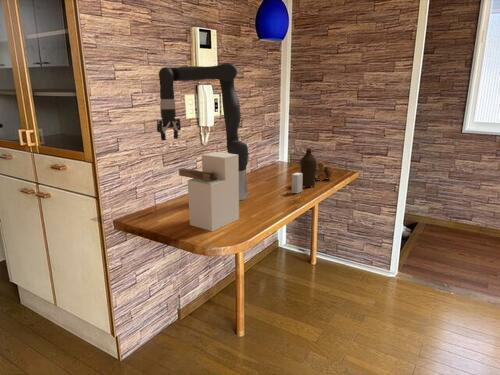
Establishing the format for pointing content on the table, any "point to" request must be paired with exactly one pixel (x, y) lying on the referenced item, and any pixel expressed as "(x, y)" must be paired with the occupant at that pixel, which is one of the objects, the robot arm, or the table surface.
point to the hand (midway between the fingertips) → (169, 139)
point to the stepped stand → (215, 192)
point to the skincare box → (297, 182)
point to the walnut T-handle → (198, 174)
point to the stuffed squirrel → (323, 171)
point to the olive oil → (308, 169)
